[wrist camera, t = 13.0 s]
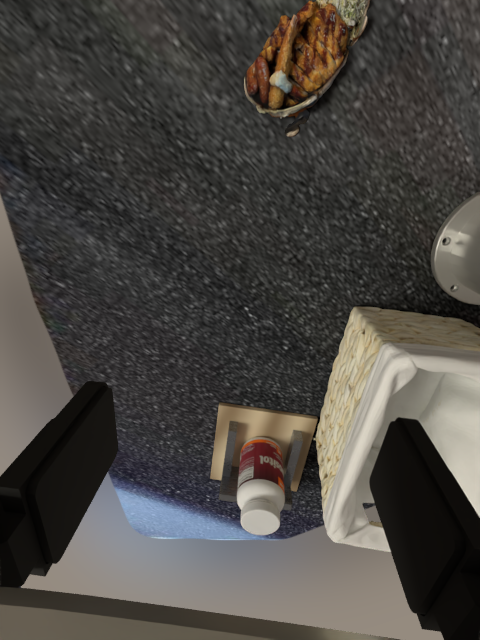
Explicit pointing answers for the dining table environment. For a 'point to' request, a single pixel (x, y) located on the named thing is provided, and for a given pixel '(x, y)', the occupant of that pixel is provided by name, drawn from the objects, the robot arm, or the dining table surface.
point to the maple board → (261, 434)
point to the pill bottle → (261, 486)
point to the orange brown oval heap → (304, 58)
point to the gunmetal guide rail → (232, 473)
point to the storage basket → (396, 409)
